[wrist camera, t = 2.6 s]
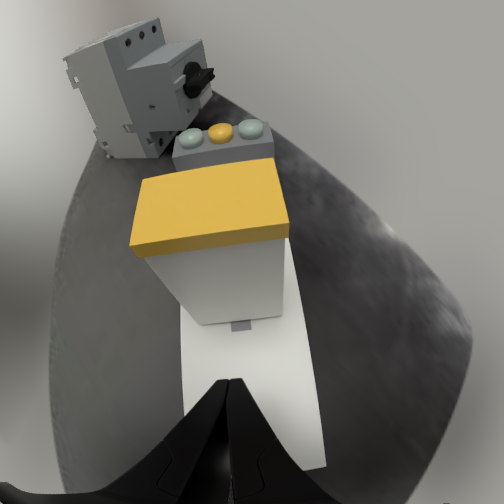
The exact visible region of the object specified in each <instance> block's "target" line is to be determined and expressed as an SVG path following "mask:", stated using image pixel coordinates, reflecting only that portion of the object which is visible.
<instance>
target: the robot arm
mask: <svg viewBox="0 0 504 504" xmlns="http://www.w3.org/2000/svg"><path fill="white" fill-rule="evenodd" d="M231 477H232V487H233V496H234V504H342V503H340V502H338V501H336V500H335V499H333V498H332V497H330V496H329V495H328V494H327V493H326V492H324V491H323V490H322V489H321V488H320V487H319V486H318V485H317V484H316V483H315V482H314V481H313V480H312V479H311V478H310V477H309V476H308V475H307V474H306V473H305V472H304V471H303V470H302V469H301V468H300V467H299V466H298V465H297V464H296V462H295V461H294V460H293V459H292V458H291V457H290V455H289V454H288V453H287V451H286V450H285V448H284V447H283V445H282V444H281V442H280V441H279V439H278V438H277V436H276V435H275V433H274V431H273V430H272V428H271V427H270V425H269V423H268V422H267V420H266V418H265V417H264V415H263V413H262V412H261V410H260V408H259V407H258V405H257V403H256V401H255V400H254V398H253V396H252V395H251V393H250V391H249V389H248V388H247V386H246V384H245V382H244V380H243V379H242V378H232V379H230V380H229V379H218V380H216V381H215V383H214V384H213V385H212V386H211V387H210V388H209V390H208V391H207V392H206V393H205V394H204V395H203V396H202V397H201V399H200V400H199V401H198V402H197V403H196V404H195V405H194V406H193V408H192V409H191V410H190V411H189V412H188V413H187V414H186V415H185V416H184V417H183V419H182V420H181V421H180V422H179V423H178V424H177V425H176V426H175V427H174V428H173V429H172V430H171V431H170V432H169V434H168V435H167V436H166V437H165V438H164V439H163V441H161V442H160V443H159V444H158V445H157V446H156V447H155V448H154V449H153V450H152V451H151V452H150V453H149V454H148V455H147V456H146V457H144V458H143V459H142V460H141V461H140V462H138V463H137V464H136V465H135V466H133V467H132V468H131V469H130V470H128V471H127V472H126V473H124V474H123V475H122V476H120V477H119V478H117V479H116V480H115V481H113V482H112V483H111V484H109V485H108V486H106V487H104V488H102V489H100V490H97V491H94V492H89V493H76V494H33V493H28V492H24V491H21V490H19V489H17V488H16V487H14V486H13V485H11V484H9V483H7V482H0V502H1V503H3V504H228V496H229V488H230V479H231ZM446 504H449V503H446Z"/></svg>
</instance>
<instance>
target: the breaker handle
mask: <svg viewBox="0 0 504 504" xmlns="http://www.w3.org/2000/svg"><path fill="white" fill-rule="evenodd" d="M285 238H289V220H288V215H287V211H286V207H285V203H284V199H283V194H282V190H281V186H280V182H279V178H278V174H277V170H276V166H275V163H274V159H273V158H266V159H257V160H250V161H242V162H235V163H228V164H222V165H215V166H209V167H203V168H197V169H192V170H186V171H181V172H176V173H171V174H166V175H161V176H156V177H152V178H147V179H143V181H142V185H141V190H140V194H139V198H138V203H137V208H136V213H135V218H134V223H133V228H132V234H131V239H130V245H129V246H130V247H131V249H132V250H133V251H134V252H135V254H136V255H137V256H138V258H144V259H145V260H146V262H147V263H148V264H149V266H150V267H151V268H152V269H153V271H154V272H155V273H156V274H157V276H158V277H159V278H160V279H161V281H162V282H163V283H164V284H165V286H166V287H167V288H168V289H169V291H170V292H171V293H172V294H173V295H174V297H175V298H176V299H177V300H178V301H179V303H180V304H181V305H182V306H183V307H184V309H185V310H186V311H187V312H188V313H189V314H190V316H191V317H192V318H193V319H194V320H195V321H196V322H197V324H198V325H202V324H213V323H222V322H232V321H241V320H249V319H257V318H265V317H272V316H280V315H282V313H283V289H284V260H285Z"/></svg>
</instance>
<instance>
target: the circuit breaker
mask: <svg viewBox="0 0 504 504" xmlns="http://www.w3.org/2000/svg"><path fill="white" fill-rule="evenodd" d="M65 60H66V62H67V66H68V69H67V70H66V72H67V74H68V77H69V79H70V82H71V84H72V87H73V89H76V88H79V89H80V92H81V94H82V96H83V99H84V101H85V103H86V105H87V107H88V110H89V112H90V114H91V116H92V118H93V120H94V122H95V125H96V128H95V129H94V130H93V132H94V134H95V136H96V138H97V140H98V142H99V144H100V146H101V147H102V149H103V150H106V152H107V154H108V155H107V156H106V157H107V159H110V158H111V157H114V158H159V156H160V155H161V154H162V152H163V151H164V149H165V148H166V147H167V145H168V144H169V143H170V141H171V140H172V139H173V137H174V136H175V135H176V133H177V132H178V131H185V130H186V128H187V127H188V126H189V124H190V123H191V122H192V121H193V119H194V118H195V117H196V115H197V114H198V113H199V112H198V111H200V110H201V109H202V108H203V107H204V105H205V104H206V103H207V102H208V100H209V99H210V98H211V97H212V96H213V95H212V90H211V85H210V81H212V80H213V79H214V77H215V75H214V74H213V71H214V68H207V63H206V58H205V53H204V47H203V43H202V40H201V39H200V40H192V41H185V42H178V43H172V44H165V40H164V36H163V32H162V28H161V24H160V19H159V17H157V18H153V19H149V20H145V21H142V22H138V23H136V24H132V25H129V26H126V27H123V28H120V29H117V30H114V31H112V32H109V33H106V34H104V35H102V36H100V37H98V38H96V39H95V40H93V41H91V42H89V43H88V44H86V45H84V46H82V47H80V48H79V49H77V50H75V51H74V52H72V53H70V54H69V55H67V56H66V57H64V58H63V61H65ZM74 77H77V78H78V80H79V82H77V83H76V82H75V80H74ZM160 138H162V139H161V140H160ZM159 140H160V141H159ZM105 141H106V142H107V144H108V145H104V143H103V142H105Z"/></svg>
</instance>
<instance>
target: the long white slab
mask: <svg viewBox="0 0 504 504" xmlns="http://www.w3.org/2000/svg"><path fill="white" fill-rule="evenodd" d="M266 158H273V159H274V163H275V157H274V141H273V137H272V134H271V130H270V127H269V124H268V122H261V121H259V120H256V119H248V120H244V121H242V122H241V123H240V124H239V125H237V126H231V125H230V124H227V123H219V124H216V125H213V126H212V127H210V128H209V130H205V131H201V130H200V129H198V128H191V129H188V130H185V131H183V132H182V133H181V134H180V135H179V136H176V138H175V144H174V149H173V154H172V159H173V162H174V165H175V168H176V170H177V172H181V171H186V170H192V169H197V168H203V167H209V166H215V165H222V164H228V163H235V162H242V161H250V160H257V159H266ZM181 363H182V385H183V402H184V416H185V415H186V414H187V413H188V412H189V411H190V410H191V409H192V408H193V406H194V405H195V404H196V403H197V402H198V401H199V400H200V399H201V397H202V396H203V395H204V394H205V393H206V392H207V391H208V390H209V388H210V387H211V386H212V385H213V384H214V383H215V381H216V380H218V379H229V380H230V379H232V378H242V379H243V380H244V382H245V384H246V386H247V388H248V389H249V391H250V393H251V395H252V396H253V398H254V400H255V401H256V403H257V405H258V407H259V408H260V410H261V412H262V413H263V415H264V417H265V418H266V420H267V422H268V423H269V425H270V427H271V428H272V430H273V431H274V433H275V435H276V436H277V438H278V439H279V441H280V442H281V444H282V445H283V447H284V448H285V450H286V451H287V453H288V454H289V455H290V457H291V458H292V459H293V460H294V461H295V462H296V464H297V465H298V466H299V467H300V468H301V469H302V470H303V471H305V470H311V469H316V468H321V467H326V459H325V451H324V443H323V435H322V427H321V420H320V413H319V406H318V399H317V392H316V386H315V379H314V373H313V367H312V361H311V355H310V349H309V343H308V337H307V331H306V326H305V320H304V315H303V309H302V304H301V299H300V293H299V288H298V283H297V278H296V273H295V268H294V263H293V258H292V253H291V248H290V244H289V239H288V238H285V260H284V289H283V313H282V315H280V316H272V317H265V318H257V319H249V320H241V321H232V322H222V323H213V324H202V325H198V324H197V322H196V321H195V320H194V319H193V318H192V317H191V316H190V314H189V313H188V312H187V311H186V310H185V309H184V307H183V306H182V305H181ZM231 478H232V477H231Z"/></svg>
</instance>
